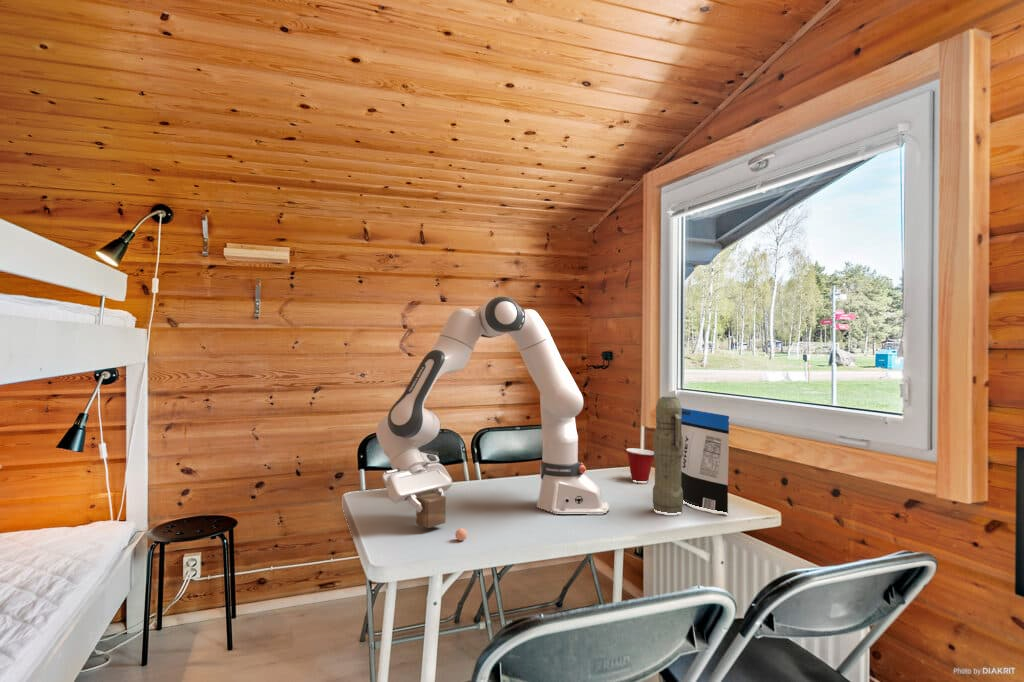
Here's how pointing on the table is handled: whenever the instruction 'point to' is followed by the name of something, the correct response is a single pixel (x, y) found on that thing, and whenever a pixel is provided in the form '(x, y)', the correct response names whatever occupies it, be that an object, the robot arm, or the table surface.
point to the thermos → (668, 456)
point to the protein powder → (705, 459)
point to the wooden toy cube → (431, 510)
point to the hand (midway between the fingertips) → (432, 507)
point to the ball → (461, 534)
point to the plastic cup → (640, 463)
